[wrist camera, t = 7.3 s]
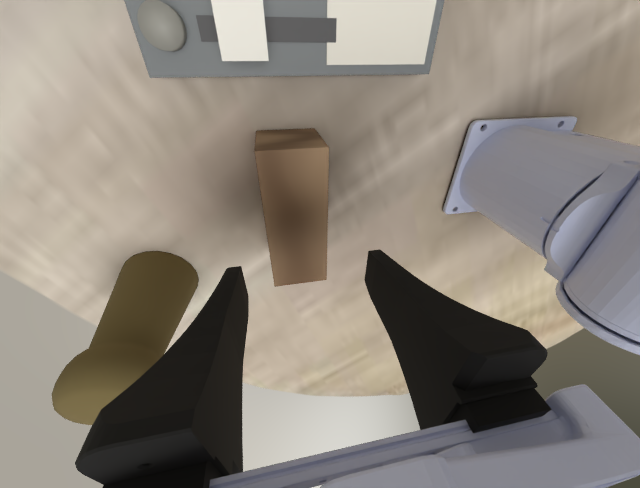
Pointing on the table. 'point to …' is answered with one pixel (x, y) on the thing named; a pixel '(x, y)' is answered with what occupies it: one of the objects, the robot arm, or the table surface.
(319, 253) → the block
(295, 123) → the table surface
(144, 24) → the breaker panel
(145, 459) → the robot arm
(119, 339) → the cork
